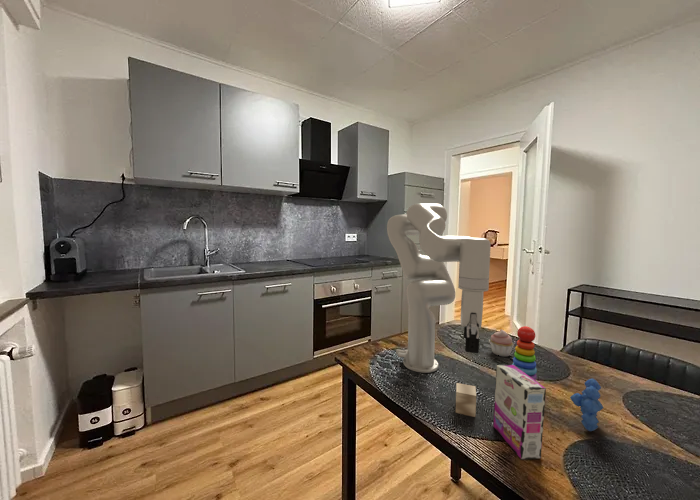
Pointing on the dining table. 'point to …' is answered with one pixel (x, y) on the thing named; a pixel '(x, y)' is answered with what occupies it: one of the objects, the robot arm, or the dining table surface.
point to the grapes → (589, 404)
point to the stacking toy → (525, 352)
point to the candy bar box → (519, 411)
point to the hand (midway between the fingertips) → (470, 344)
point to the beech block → (466, 399)
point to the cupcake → (501, 343)
